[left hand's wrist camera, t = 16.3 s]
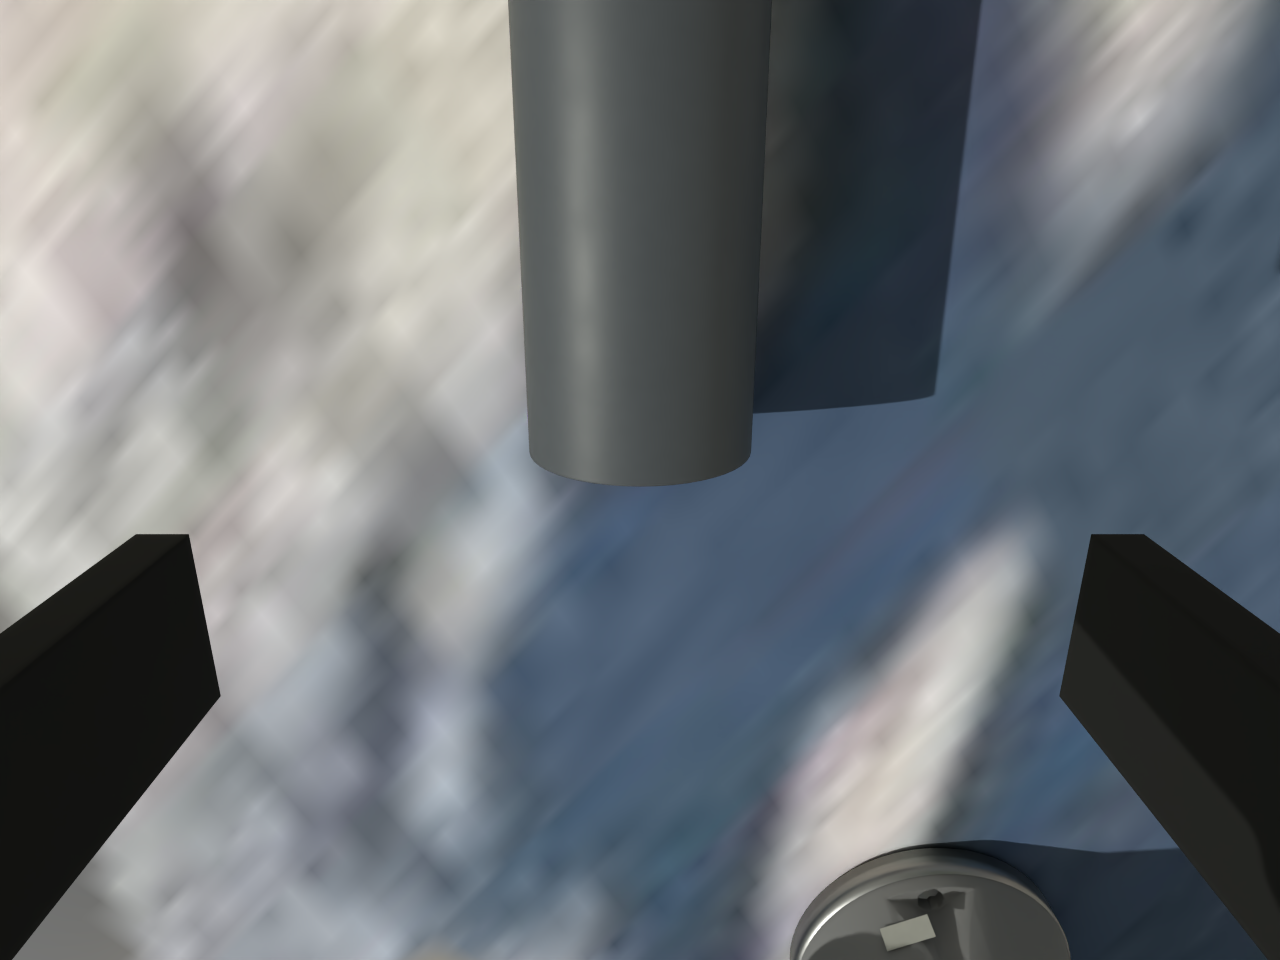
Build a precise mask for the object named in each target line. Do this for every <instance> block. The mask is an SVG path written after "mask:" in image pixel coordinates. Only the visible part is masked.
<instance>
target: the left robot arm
mask: <svg viewBox="0 0 1280 960" xmlns="http://www.w3.org/2000/svg"><path fill="white" fill-rule="evenodd" d="M219 697H220V690H219V685H218V680H217V675H216V670H215V665H214V660H213V655H212V650H211V645H210V640H209V635H208V630H207V625H206V619H205V614H204V609H203V604H202V599H201V594H200V589H199V584H198V579H197V574H196V569H195V564H194V559H193V554H192V549H191V543H190V538H189V534H136V535H134V536H133V537H132V538H130V539H129V540H128V541H126V542H125V543H124V544H122V545H121V546H119V547H118V548H117V549H115V550H114V551H113V552H111V553H110V554H108V555H107V556H106V557H104V558H103V559H102V560H100V561H99V562H98V563H96V564H95V565H93V566H92V567H91V568H89V569H88V570H87V571H85V572H84V573H83V574H81V575H80V576H78V577H77V578H76V579H74V580H73V581H72V582H70V583H69V584H67V585H66V586H65V587H63V588H62V589H61V590H59V591H58V592H57V593H55V594H54V595H52V596H51V597H50V598H48V599H47V600H46V601H44V602H43V603H41V604H40V605H39V606H37V607H36V608H35V609H33V610H32V611H31V612H29V613H28V614H26V615H25V616H24V617H22V618H21V619H20V620H18V621H17V622H16V623H14V624H13V625H11V626H10V627H9V628H7V629H6V630H5V631H3V632H2V633H0V960H12V959H13V958H14V957H15V955H16V954H17V953H18V951H19V950H20V949H21V948H22V946H23V945H24V944H25V943H26V941H27V940H28V939H29V938H30V936H31V935H32V934H33V932H34V931H35V930H36V929H37V927H38V926H39V925H40V924H41V922H42V921H43V920H44V919H45V917H46V916H47V915H48V914H49V912H50V911H51V910H52V908H53V907H54V906H55V905H56V903H57V902H58V901H59V900H60V898H61V897H62V896H63V895H64V893H65V892H66V891H67V889H68V888H69V887H70V886H71V884H72V883H73V882H74V881H75V879H76V878H77V877H78V876H79V874H80V873H81V872H82V871H83V869H84V868H85V867H86V865H87V864H88V863H89V862H90V860H91V859H92V858H93V857H94V855H95V854H96V853H97V852H98V850H99V849H100V848H101V847H102V845H103V844H104V843H105V841H106V840H107V839H108V838H109V836H110V835H111V834H112V833H113V831H114V830H115V829H116V828H117V826H118V825H119V824H120V822H121V821H122V820H123V819H124V817H125V816H126V815H127V814H128V812H129V811H130V810H131V809H132V807H133V806H134V805H135V804H136V802H137V801H138V800H139V798H140V797H141V796H142V795H143V793H144V792H145V791H146V790H147V788H148V787H149V786H150V785H151V783H152V782H153V781H154V780H155V778H156V777H157V776H158V774H159V773H160V772H161V771H162V769H163V768H164V767H165V766H166V764H167V763H168V762H169V761H170V759H171V758H172V757H173V755H174V754H175V753H176V752H177V750H178V749H179V748H180V747H181V745H182V744H183V743H184V742H185V740H186V739H187V738H188V737H189V735H190V734H191V733H192V731H193V730H194V729H195V728H196V726H197V725H198V724H199V723H200V721H201V720H202V719H203V718H204V716H205V715H206V714H207V712H208V711H209V710H210V709H211V707H212V706H213V705H214V704H215V702H216V701H217V700H218V699H219ZM1060 697H1061V699H1062V700H1063V701H1064V702H1065V704H1066V705H1067V706H1068V707H1069V709H1070V710H1071V711H1072V712H1073V714H1074V715H1075V716H1076V718H1077V719H1078V720H1079V721H1080V723H1081V724H1082V725H1083V726H1084V728H1085V729H1086V730H1087V731H1088V733H1089V734H1090V735H1091V737H1092V738H1093V739H1094V740H1095V742H1096V743H1097V744H1098V745H1099V747H1100V748H1101V749H1102V750H1103V752H1104V753H1105V754H1106V755H1107V757H1108V758H1109V759H1110V761H1111V762H1112V763H1113V764H1114V766H1115V767H1116V768H1117V769H1118V771H1119V772H1120V773H1121V774H1122V776H1123V777H1124V778H1125V780H1126V781H1127V782H1128V783H1129V785H1130V786H1131V787H1132V788H1133V790H1134V791H1135V792H1136V793H1137V795H1138V796H1139V797H1140V798H1141V800H1142V801H1143V802H1144V804H1145V805H1146V806H1147V807H1148V809H1149V810H1150V811H1151V812H1152V814H1153V815H1154V816H1155V817H1156V819H1157V820H1158V821H1159V822H1160V824H1161V825H1162V826H1163V828H1164V829H1165V830H1166V831H1167V833H1168V834H1169V835H1170V836H1171V838H1172V839H1173V840H1174V841H1175V843H1176V844H1177V845H1178V847H1179V848H1180V849H1181V850H1182V852H1183V853H1184V854H1185V855H1186V857H1187V858H1188V859H1189V860H1190V862H1191V863H1192V864H1193V865H1194V867H1195V868H1196V869H1197V871H1198V872H1199V873H1200V874H1201V876H1202V877H1203V878H1204V879H1205V881H1206V882H1207V883H1208V884H1209V886H1210V887H1211V888H1212V890H1213V891H1214V892H1215V893H1216V895H1217V896H1218V897H1219V898H1220V900H1221V901H1222V902H1223V903H1224V905H1225V906H1226V907H1227V908H1228V910H1229V911H1230V912H1231V914H1232V915H1233V916H1234V917H1235V919H1236V920H1237V921H1238V922H1239V924H1240V925H1241V926H1242V927H1243V929H1244V930H1245V931H1246V933H1247V934H1248V935H1249V936H1250V938H1251V939H1252V940H1253V941H1254V943H1255V944H1256V945H1257V946H1258V948H1259V949H1260V950H1261V951H1262V953H1263V954H1264V955H1265V957H1266V958H1267V959H1268V960H1280V633H1278V632H1277V631H1275V630H1274V629H1273V628H1271V627H1270V626H1269V625H1267V624H1266V623H1264V622H1263V621H1262V620H1260V619H1259V618H1258V617H1256V616H1255V615H1254V614H1252V613H1251V612H1249V611H1248V610H1247V609H1245V608H1244V607H1243V606H1241V605H1240V604H1239V603H1237V602H1236V601H1234V600H1233V599H1232V598H1230V597H1229V596H1228V595H1226V594H1225V593H1223V592H1222V591H1221V590H1219V589H1218V588H1217V587H1215V586H1214V585H1213V584H1211V583H1210V582H1208V581H1207V580H1206V579H1204V578H1203V577H1202V576H1200V575H1199V574H1197V573H1196V572H1195V571H1193V570H1192V569H1191V568H1189V567H1188V566H1187V565H1185V564H1184V563H1182V562H1181V561H1180V560H1178V559H1177V558H1176V557H1174V556H1173V555H1172V554H1170V553H1169V552H1167V551H1166V550H1165V549H1163V548H1162V547H1161V546H1159V545H1158V544H1156V543H1155V542H1154V541H1152V540H1151V539H1150V538H1148V537H1147V536H1146V535H1144V534H1091V538H1090V543H1089V549H1088V554H1087V559H1086V564H1085V569H1084V574H1083V579H1082V584H1081V589H1080V594H1079V599H1078V604H1077V609H1076V614H1075V619H1074V625H1073V630H1072V635H1071V640H1070V645H1069V650H1068V655H1067V660H1066V665H1065V670H1064V675H1063V680H1062V685H1061V690H1060ZM790 960H1071V959H1070V951H1069V946H1068V942H1067V939H1066V936H1065V934H1064V932H1063V930H1062V928H1061V926H1060V924H1059V922H1058V920H1057V918H1056V917H1055V915H1054V913H1053V911H1052V909H1051V907H1050V906H1049V904H1048V902H1047V900H1046V899H1045V897H1044V896H1043V894H1042V893H1041V891H1040V890H1039V889H1038V888H1037V886H1036V885H1035V884H1034V883H1033V882H1032V881H1031V880H1030V879H1029V878H1027V877H1026V876H1025V875H1024V874H1022V873H1021V872H1020V871H1018V870H1017V869H1015V868H1014V867H1012V866H1010V865H1008V864H1007V863H1005V862H1002V861H1000V860H998V859H996V858H993V857H990V856H987V855H984V854H981V853H976V852H972V851H967V850H960V849H951V848H925V849H914V850H908V851H902V852H898V853H894V854H890V855H886V856H883V857H880V858H877V859H874V860H872V861H869V862H867V863H864V864H862V865H860V866H858V867H856V868H854V869H852V870H850V871H849V872H847V873H846V874H844V875H842V876H841V877H839V878H838V879H837V880H835V881H834V882H832V883H831V884H830V885H829V886H828V887H826V888H825V889H824V890H823V891H822V892H821V893H820V894H819V895H818V896H817V897H816V898H815V899H814V900H813V901H812V903H811V904H810V905H809V907H808V908H807V909H806V911H805V912H804V914H803V915H802V917H801V919H800V921H799V923H798V925H797V927H796V929H795V932H794V935H793V938H792V943H791V948H790Z"/></svg>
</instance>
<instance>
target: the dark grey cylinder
mask: <svg viewBox="0 0 1280 960" xmlns="http://www.w3.org/2000/svg"><path fill="white" fill-rule="evenodd" d="M508 6H509V27H510V49H511V70H512V91H513V112H514V133H515V155H516V176H517V197H518V218H519V240H520V261H521V282H522V303H523V324H524V346H525V367H526V388H527V409H528V430H529V452H530V456H531V458H532V459H533V461H534V462H535V463H536V464H538V465H539V466H540V467H542V468H544V469H545V470H547V471H549V472H552V473H554V474H557V475H560V476H563V477H566V478H570V479H574V480H578V481H583V482H589V483H596V484H604V485H615V486H665V485H676V484H684V483H691V482H697V481H702V480H706V479H710V478H714V477H717V476H721V475H724V474H726V473H729V472H731V471H733V470H735V469H737V468H738V467H740V466H742V465H743V464H744V463H745V462H746V461H747V460H748V458H749V457H750V453H751V440H752V418H753V397H754V375H755V353H756V332H757V310H758V288H759V267H760V245H761V223H762V202H763V180H764V158H765V137H766V115H767V93H768V72H769V50H770V28H771V7H772V0H508Z"/></svg>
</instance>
